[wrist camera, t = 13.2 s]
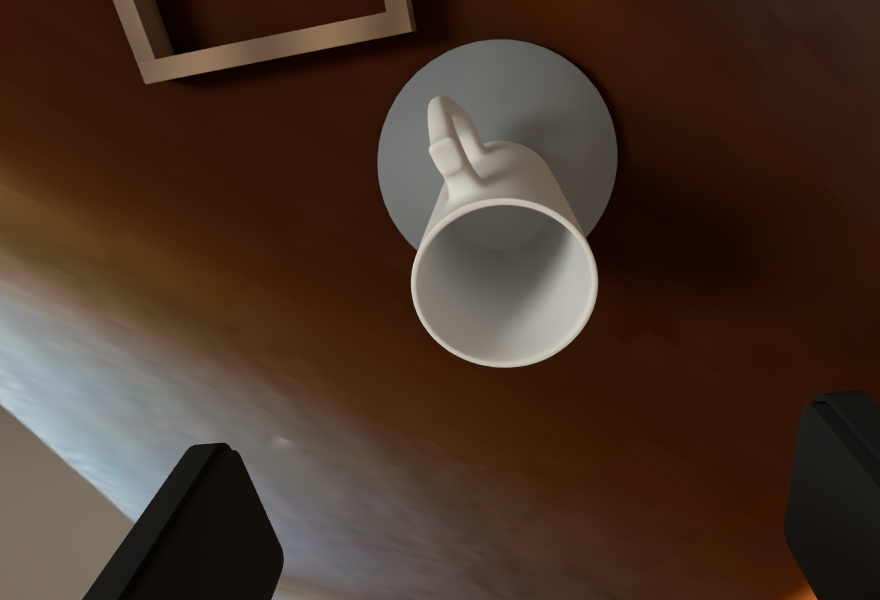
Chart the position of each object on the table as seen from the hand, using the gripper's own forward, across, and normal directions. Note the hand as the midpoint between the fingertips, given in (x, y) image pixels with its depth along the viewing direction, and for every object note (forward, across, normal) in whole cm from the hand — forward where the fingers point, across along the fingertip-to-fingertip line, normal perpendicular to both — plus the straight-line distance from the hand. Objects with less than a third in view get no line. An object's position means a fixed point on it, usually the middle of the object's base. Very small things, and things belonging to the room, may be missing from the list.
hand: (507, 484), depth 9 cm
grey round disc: (+24, 0, 0) cm, 24 cm away
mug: (+23, 0, 0) cm, 23 cm away
